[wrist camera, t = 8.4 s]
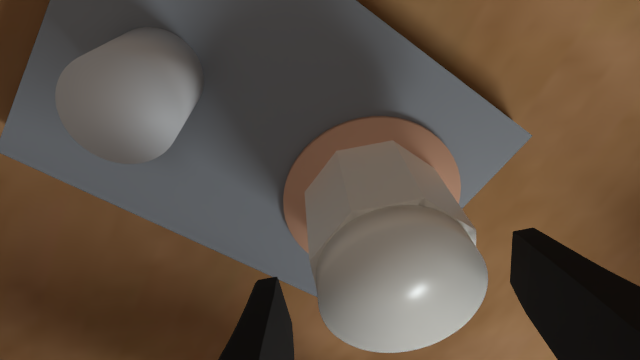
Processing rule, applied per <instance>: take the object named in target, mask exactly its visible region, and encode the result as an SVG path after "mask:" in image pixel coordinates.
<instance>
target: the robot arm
mask: <svg viewBox="0 0 640 360" xmlns="http://www.w3.org/2000/svg"><path fill="white" fill-rule="evenodd" d="M510 283H511V285H512V287H513V289H514V291H515V293H516V295H517V297H518V299H519V301H520V303H521V305H522V307H523V309H524V310H525V312H526V314H527V315H528V317H529V318H530V320H531V321H532V323H533V324H534V326H535V327H536V329H537V330H538V332H539V333H540V335H541V336H542V337H543V339H544V340H545V342H546V343H547V345H548V346H549V348H550V349H551V350H552V352H553V353H554V355H555V356H556V358H557V359H558V360H640V287H639V286H637V285H635V284H633V283H631V282H629V281H627V280H625V279H623V278H621V277H620V276H618V275H616V274H614V273H612V272H610V271H608V270H606V269H605V268H603V267H601V266H599V265H597V264H595V263H594V262H592V261H590V260H588V259H587V258H585V257H583V256H581V255H580V254H578V253H576V252H574V251H573V250H571V249H569V248H568V247H566V246H564V245H562V244H561V243H559V242H557V241H556V240H554V239H552V238H551V237H549V236H547V235H545V234H544V233H542V232H540V231H538V230H536V229H535V228H529V229H524V230H519V231H513V238H512V256H511V274H510ZM218 360H294V345H293V331H292V322H291V319H290V315H289V312H288V309H287V306H286V303H285V299H284V296H283V293H282V290H281V287H280V283H279V280H278V277H272V278H267V279H262V280H258V281H257V282H256V283H255V285H254V288H253V290H252V293H251V295H250V298H249V300H248V302H247V304H246V307H245V309H244V311H243V313H242V315H241V318H240V320H239V322H238V324H237V326H236V328H235V330H234V332H233V334H232V336H231V338H230V340H229V341H228V343H227V345H226V347H225V349H224V350H223V352H222V354H221V356H220V357H219V359H218Z"/></svg>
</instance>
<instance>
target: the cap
mask: <svg viewBox="0 0 640 360" xmlns="http://www.w3.org/2000/svg"><path fill="white" fill-rule="evenodd" d="M304 193H305V207H306V221H307V235H308V249H309V261H310V265H311V269H312V274H313V278H314V282H315V286H316V290H317V295H318V305H319V311H320V314H321V317H322V319H323V321H324V323H325V324H326V326H327V327H328V328H329V330H330V331H331V332H332V333H333V334H334V335H335V336H337V337H338V338H339V339H341V340H342V341H344V342H346V343H348V344H350V345H352V346H354V347H357V348H360V349H363V350H367V351H373V352H381V353H397V352H406V351H412V350H416V349H420V348H423V347H427V346H429V345H432V344H434V343H437V342H439V341H441V340H443V339H445V338H447V337H448V336H450V335H452V334H453V333H455V332H456V331H457V330H459V329H460V328H461V327H463V326H464V325H465V324H466V323H467V322H468V321H469V320H470V319H471V318H472V316H473V315H474V314H475V313H476V311H477V310H478V308H479V307H480V305H481V303H482V301H483V299H484V297H485V293H486V290H487V284H488V272H487V268H486V264H485V262H484V259H483V257H482V255H481V254H480V252H479V251H478V249H477V248H476V229H475V228H474V226H473V225H472V223H471V222H470V220H469V219H468V217H467V216H466V214H465V213H464V211H463V210H462V209H461V207H460V206H459V204H458V203H457V201H456V200H455V198H454V197H453V195H452V194H451V192H450V191H449V189H448V188H447V186H446V185H445V183H444V182H443V180H442V179H441V177H440V176H439V174H438V173H437V171H436V170H435V168H433V167H432V166H430V165H429V164H427V163H426V162H424V161H423V160H421V159H420V158H418V157H417V156H415V155H414V154H412V153H411V152H409V151H408V150H406V149H405V148H403V147H402V146H400V145H399V144H397V143H396V142H394V141H393V140H391V141H386V142H381V143H375V144H370V145H365V146H359V147H354V148H349V149H344V150H338V151H336V152H335V153H334V155H333V156H332V157H331V158H330V160H329V161H328V162H327V164H326V165H325V166H324V168H323V169H322V170H321V171H320V173H319V174H318V175H317V177H316V178H315V179H314V180H313V182H312V183H311V184H310V186H309V187H308V188H307V190H306V191H305V192H304Z"/></svg>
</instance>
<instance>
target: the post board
mask: <svg viewBox="0 0 640 360" xmlns="http://www.w3.org/2000/svg"><path fill="white" fill-rule="evenodd" d="M531 137H532V135H531V134H530V133H528V132H527V131H526V130H524V129H523V128H522V127H520V126H519V125H518V124H516V123H515V122H514V121H513V120H511V119H510V118H509V117H507V116H506V115H505V114H503V113H502V112H501V111H500V110H498V109H497V108H496V107H494V106H493V105H492V104H490V103H489V102H488V101H487V100H485V99H484V98H483V97H481V96H480V95H479V94H477V93H476V92H475V91H473V90H472V89H471V88H470V87H468V86H467V85H466V84H464V83H463V82H462V81H460V80H459V79H458V78H457V77H455V76H454V75H453V74H451V73H450V72H449V71H447V70H446V69H445V68H443V67H442V66H441V65H440V64H438V63H437V62H436V61H434V60H433V59H432V58H430V57H429V56H428V55H427V54H425V53H424V52H423V51H421V50H420V49H419V48H417V47H416V46H415V45H413V44H412V43H411V42H410V41H408V40H407V39H406V38H404V37H403V36H402V35H400V34H399V33H398V32H397V31H395V30H394V29H393V28H391V27H390V26H389V25H387V24H386V23H385V22H383V21H382V20H381V19H380V18H378V17H377V16H376V15H374V14H373V13H372V12H370V11H369V10H368V9H367V8H365V7H364V6H363V5H361V4H360V3H359V2H357V1H356V0H50V2H49V5H48V8H47V10H46V13H45V16H44V19H43V21H42V24H41V27H40V30H39V33H38V35H37V38H36V41H35V44H34V46H33V49H32V52H31V55H30V57H29V60H28V63H27V66H26V69H25V71H24V74H23V77H22V80H21V82H20V85H19V88H18V91H17V94H16V96H15V99H14V102H13V105H12V107H11V110H10V113H9V116H8V118H7V121H6V124H5V127H4V130H3V132H2V135H1V138H0V153H1V154H3V155H6V156H8V157H10V158H12V159H14V160H17V161H19V162H21V163H23V164H26V165H28V166H30V167H32V168H34V169H37V170H39V171H41V172H43V173H45V174H48V175H50V176H52V177H54V178H56V179H59V180H61V181H63V182H65V183H67V184H70V185H72V186H74V187H76V188H78V189H81V190H83V191H85V192H87V193H89V194H92V195H94V196H96V197H98V198H100V199H103V200H105V201H107V202H109V203H111V204H114V205H116V206H118V207H120V208H122V209H125V210H127V211H129V212H131V213H133V214H136V215H138V216H140V217H142V218H144V219H147V220H149V221H151V222H153V223H155V224H158V225H160V226H162V227H164V228H166V229H169V230H171V231H173V232H175V233H177V234H180V235H182V236H184V237H186V238H188V239H191V240H193V241H195V242H197V243H199V244H202V245H204V246H206V247H208V248H210V249H213V250H215V251H217V252H219V253H221V254H224V255H226V256H228V257H230V258H232V259H235V260H237V261H239V262H241V263H243V264H246V265H248V266H250V267H252V268H254V269H257V270H259V271H261V272H263V273H265V274H268V275H270V276H272V277H278V279H279V280H281V281H283V282H285V283H288V284H290V285H292V286H294V287H296V288H299V289H301V290H303V291H305V292H307V293H310V294H312V295H314V296H316V297H318V295H317V290H316V286H315V282H314V278H313V274H312V269H311V265H310V261H309V249H308V235H307V221H306V207H305V193H304V192H305V191H306V190H307V188H308V187H309V186H310V184H311V183H312V182H313V180H314V179H315V178H316V177H317V175H318V174H319V173H320V171H321V170H322V169H323V168H324V166H325V165H326V164H327V162H328V161H329V160H330V158H331V157H332V156H333V155H334V153H335V152H336V151H338V150H344V149H349V148H354V147H359V146H365V145H370V144H375V143H381V142H386V141H391V140H393V141H394V142H396V143H397V144H399V145H400V146H402V147H403V148H405V149H406V150H408V151H409V152H411V153H412V154H414V155H415V156H417V157H418V158H420V159H421V160H423V161H424V162H426V163H427V164H429V165H430V166H432V167H433V168H435V170H436V171H437V173H438V174H439V176H440V177H441V179H442V180H443V182H444V183H445V185H446V186H447V188H448V189H449V191H450V192H451V194H452V195H453V197H454V198H455V200H456V201H457V203H458V204H459V206H460V207H461V209H462V208H463V207H464V206H465V205H466V204H467V203H468V202H469V201H470V200H471V199H472V198H473V197H474V196H475V195H476V194H477V193H478V192H479V190H480V189H481V188H482V187H483V186H484V185H485V184H486V183H487V182H488V181H489V180H490V179H491V178H492V177H493V176H494V175H495V174H496V173H497V172H498V171H499V170H500V169H501V168H502V167H503V166H504V165H505V164H506V163H507V162H508V161H509V160H510V158H511V157H512V156H513V155H514V154H515V153H516V152H517V151H518V150H519V149H520V148H521V147H522V146H523V145H524V144H525V143H526V142H527V141H528V140H529V139H530V138H531Z"/></svg>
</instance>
